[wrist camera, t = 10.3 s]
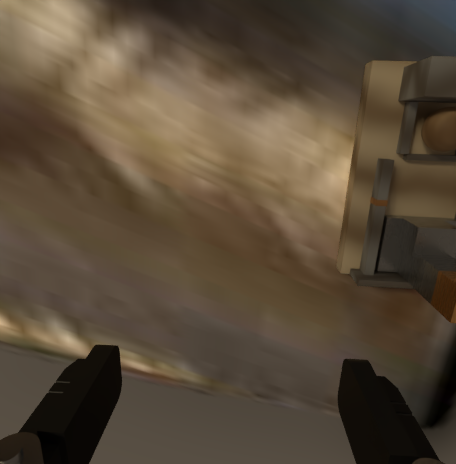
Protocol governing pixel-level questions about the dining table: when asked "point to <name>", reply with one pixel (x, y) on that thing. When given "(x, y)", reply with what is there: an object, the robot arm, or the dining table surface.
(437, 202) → the base
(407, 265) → the lever
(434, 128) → the walnut
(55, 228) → the dining table surface
